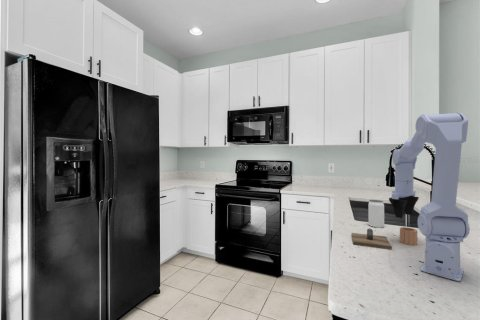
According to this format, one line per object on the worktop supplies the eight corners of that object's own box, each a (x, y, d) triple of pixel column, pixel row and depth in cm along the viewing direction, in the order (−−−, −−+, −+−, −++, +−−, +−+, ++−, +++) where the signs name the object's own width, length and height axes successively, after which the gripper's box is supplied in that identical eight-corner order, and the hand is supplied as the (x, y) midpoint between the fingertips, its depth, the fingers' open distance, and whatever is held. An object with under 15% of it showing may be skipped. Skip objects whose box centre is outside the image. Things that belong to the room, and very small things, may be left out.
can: (376, 228, 105) (376, 202, 105) (365, 224, 111) (365, 200, 111) (387, 227, 106) (387, 201, 107) (376, 223, 113) (375, 199, 113)
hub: (415, 246, 82) (415, 232, 83) (398, 242, 86) (398, 229, 86) (418, 242, 86) (418, 229, 86) (402, 239, 90) (402, 226, 90)
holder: (391, 249, 79) (391, 235, 79) (353, 244, 84) (353, 230, 84) (385, 239, 90) (385, 226, 90) (351, 235, 95) (351, 223, 95)
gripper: (401, 178, 95) (401, 211, 95) (383, 181, 88) (383, 216, 88) (421, 180, 89) (421, 214, 89) (404, 182, 82) (403, 220, 82)
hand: (403, 215), depth 88 cm, fingers open, 7 cm apart
